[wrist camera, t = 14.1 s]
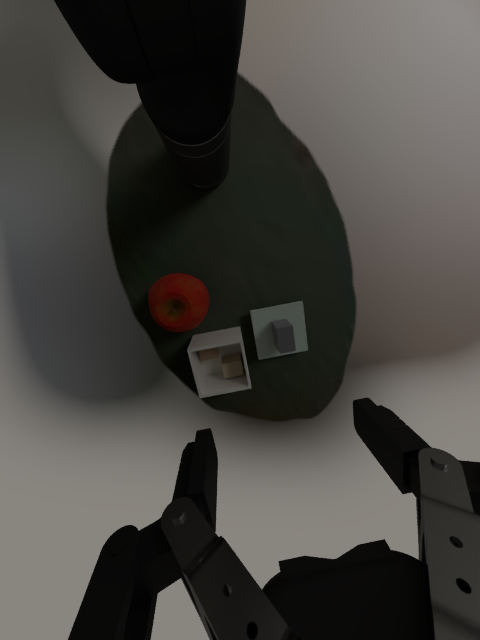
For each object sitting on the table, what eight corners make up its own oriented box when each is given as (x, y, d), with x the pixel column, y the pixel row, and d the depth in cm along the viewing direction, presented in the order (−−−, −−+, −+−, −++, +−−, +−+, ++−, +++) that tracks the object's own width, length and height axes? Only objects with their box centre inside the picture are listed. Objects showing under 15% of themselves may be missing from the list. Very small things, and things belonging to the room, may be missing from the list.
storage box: (193, 335, 49) (187, 350, 41) (239, 326, 49) (242, 339, 41) (203, 377, 51) (199, 398, 44) (247, 368, 51) (251, 388, 44)
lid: (249, 309, 48) (253, 318, 41) (299, 299, 48) (311, 306, 41) (257, 355, 51) (262, 371, 44) (304, 346, 51) (317, 360, 44)
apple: (145, 293, 46) (121, 303, 35) (187, 259, 45) (176, 260, 34) (180, 334, 48) (168, 354, 38) (221, 303, 47) (220, 316, 37)
